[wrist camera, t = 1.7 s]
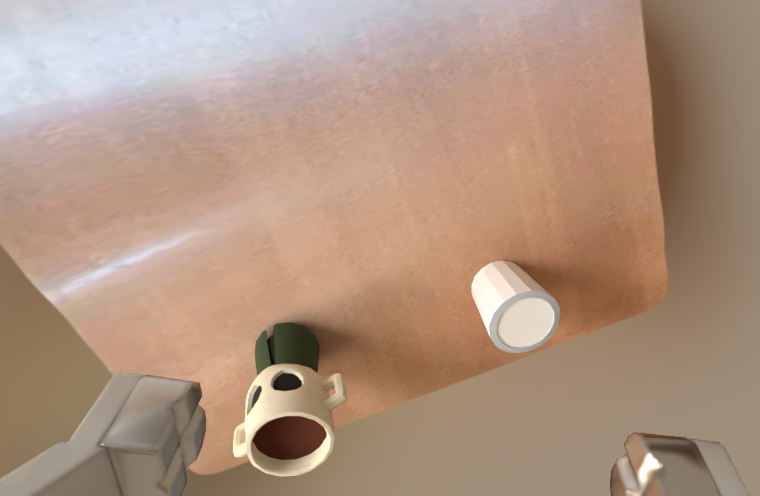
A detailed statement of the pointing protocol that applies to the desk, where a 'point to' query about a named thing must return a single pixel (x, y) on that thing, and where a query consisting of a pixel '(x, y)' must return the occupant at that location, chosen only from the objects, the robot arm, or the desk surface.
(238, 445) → the character mug
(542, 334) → the white tapered cup
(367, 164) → the desk surface
